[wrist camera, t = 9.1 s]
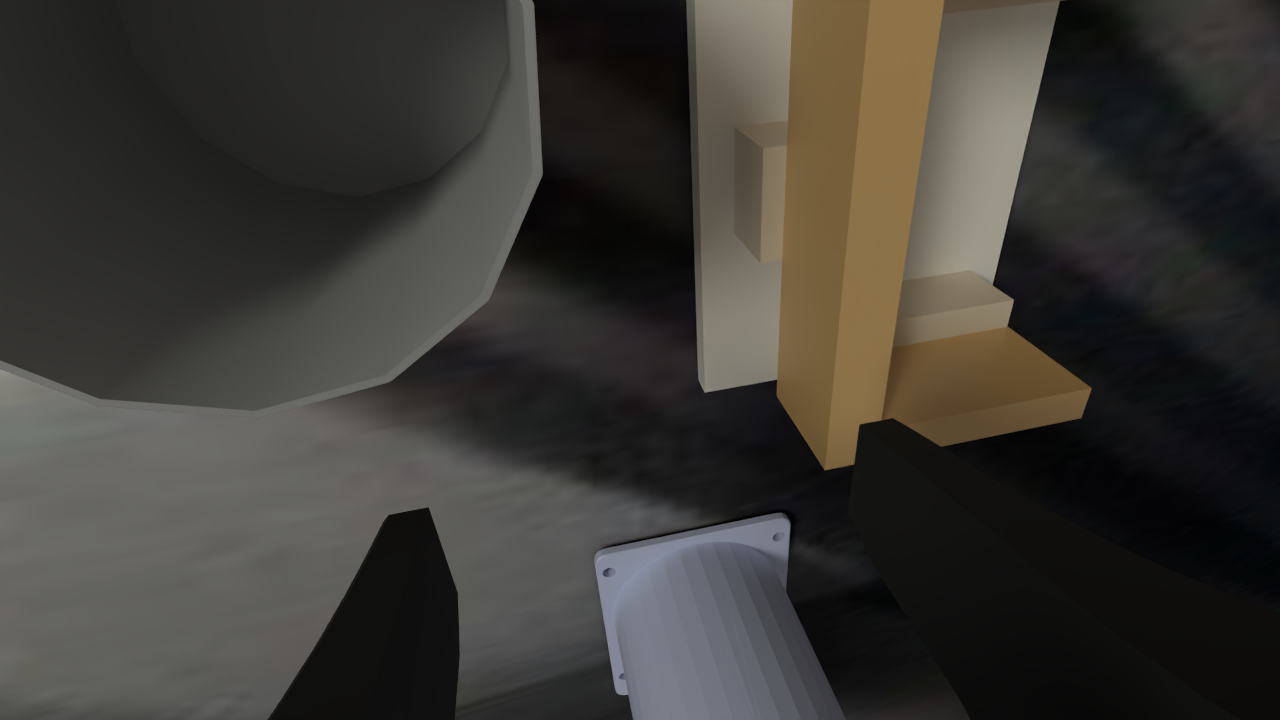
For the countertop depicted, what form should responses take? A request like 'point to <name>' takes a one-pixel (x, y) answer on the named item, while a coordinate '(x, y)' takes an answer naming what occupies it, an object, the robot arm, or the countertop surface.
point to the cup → (254, 191)
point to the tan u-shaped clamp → (879, 249)
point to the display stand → (945, 193)
